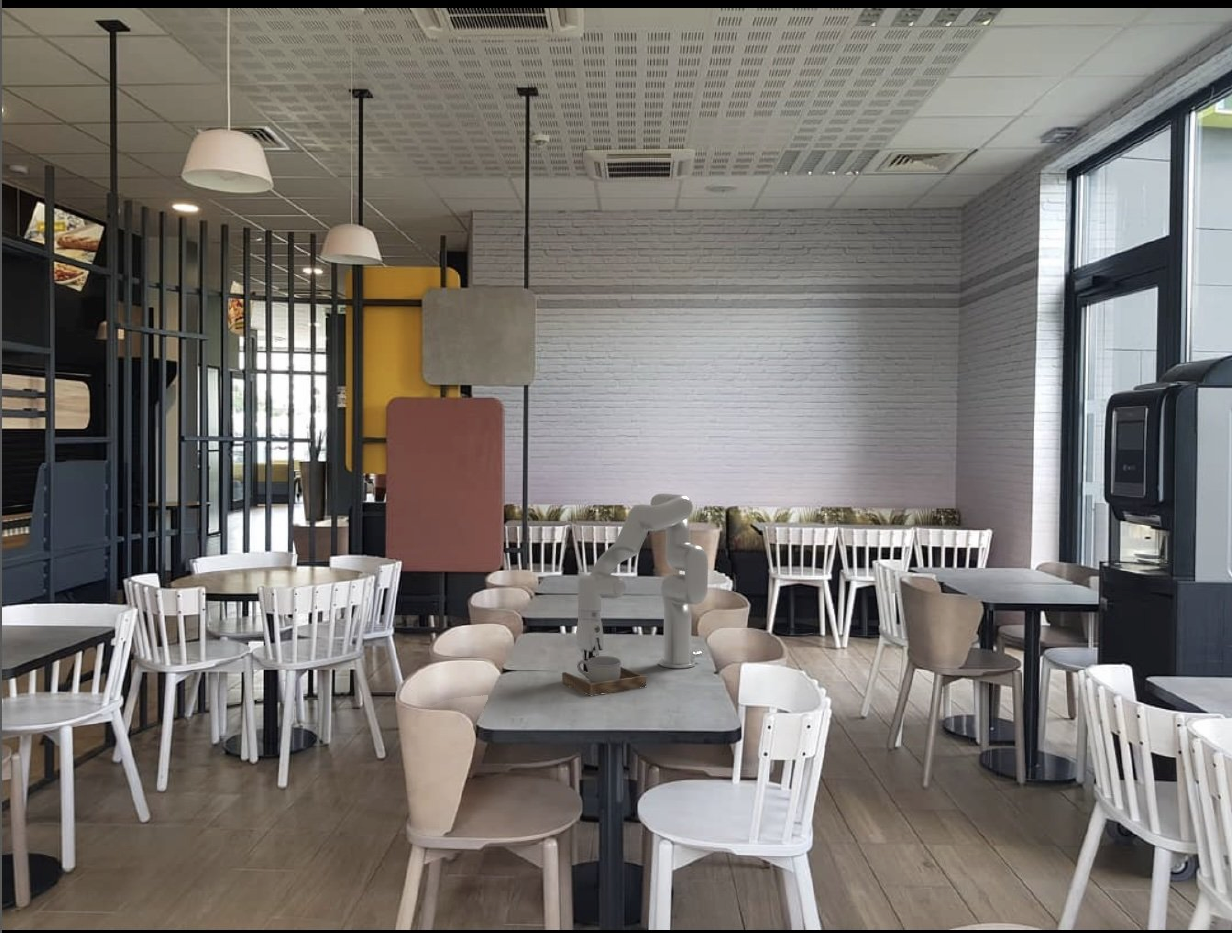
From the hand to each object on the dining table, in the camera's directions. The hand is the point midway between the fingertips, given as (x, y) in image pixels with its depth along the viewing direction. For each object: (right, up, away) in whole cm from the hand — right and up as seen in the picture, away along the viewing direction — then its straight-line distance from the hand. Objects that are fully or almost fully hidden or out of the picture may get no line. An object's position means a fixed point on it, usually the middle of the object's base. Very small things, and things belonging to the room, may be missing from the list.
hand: (588, 671), depth 316 cm
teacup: (+3, -3, -6) cm, 8 cm away
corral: (+5, -3, -7) cm, 9 cm away
